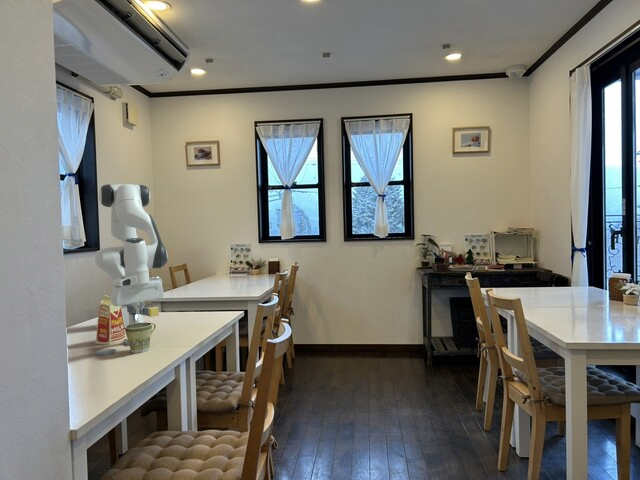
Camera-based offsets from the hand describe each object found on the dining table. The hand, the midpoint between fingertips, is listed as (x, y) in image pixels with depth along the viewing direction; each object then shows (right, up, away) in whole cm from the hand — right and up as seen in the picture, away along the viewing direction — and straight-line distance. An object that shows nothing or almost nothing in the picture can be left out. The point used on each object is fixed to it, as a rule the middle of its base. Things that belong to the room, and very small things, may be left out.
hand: (139, 313), depth 181 cm
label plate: (-11, -15, -4) cm, 19 cm away
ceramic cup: (+2, -14, -2) cm, 14 cm away
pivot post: (-6, -14, +10) cm, 18 cm away
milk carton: (-17, -14, +14) cm, 27 cm away
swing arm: (-1, -1, +4) cm, 4 cm away
